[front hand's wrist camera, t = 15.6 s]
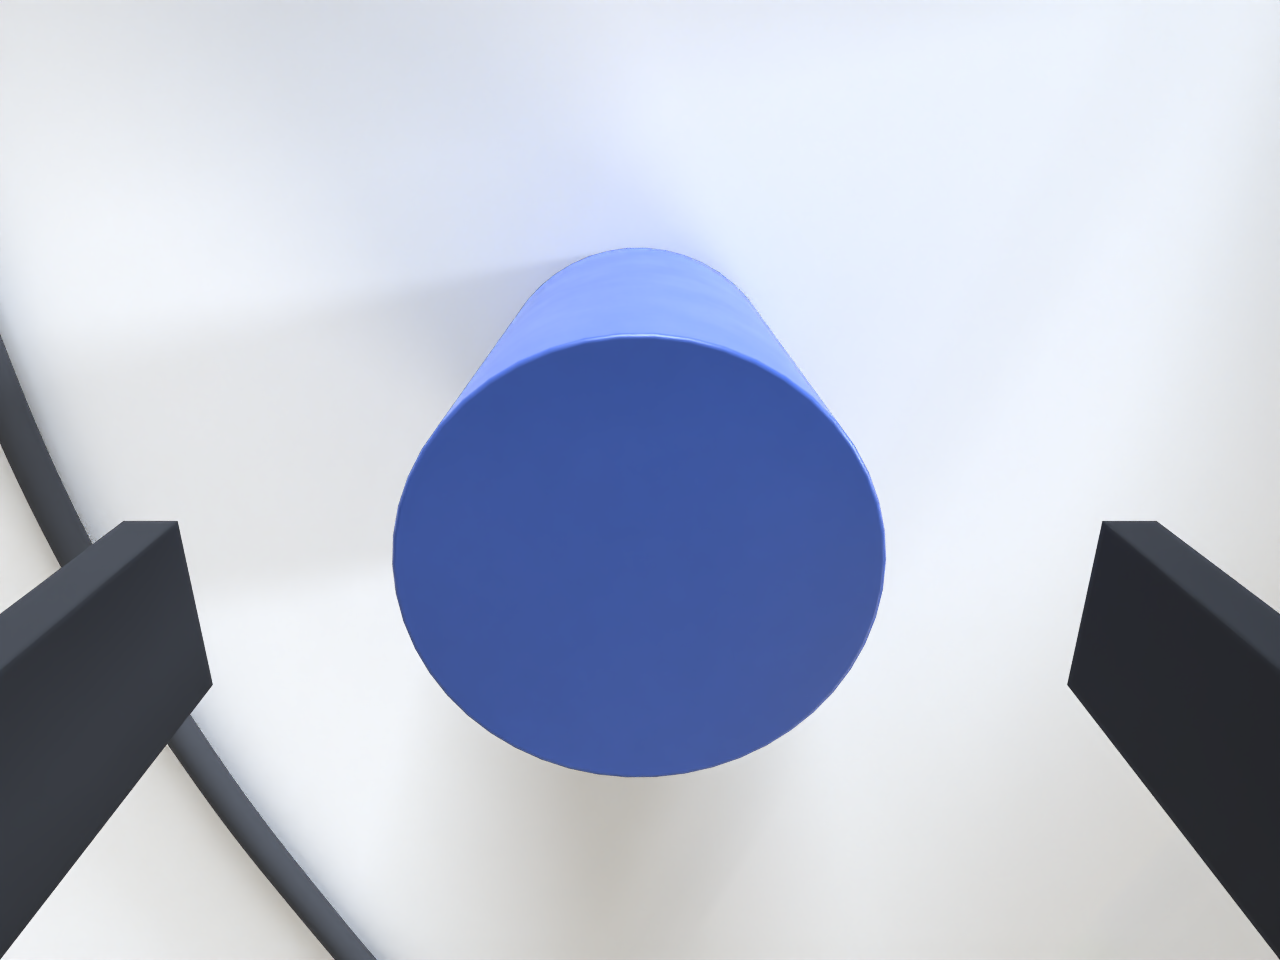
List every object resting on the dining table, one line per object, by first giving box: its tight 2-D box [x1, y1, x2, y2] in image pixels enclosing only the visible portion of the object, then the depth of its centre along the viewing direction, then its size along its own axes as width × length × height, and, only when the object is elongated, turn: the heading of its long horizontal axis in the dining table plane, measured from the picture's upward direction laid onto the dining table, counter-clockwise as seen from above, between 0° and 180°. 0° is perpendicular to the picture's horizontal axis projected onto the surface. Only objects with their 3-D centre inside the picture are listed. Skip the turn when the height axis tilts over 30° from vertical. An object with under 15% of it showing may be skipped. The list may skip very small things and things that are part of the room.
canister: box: [392, 248, 886, 777], centre depth 20 cm, size 8×8×12 cm
